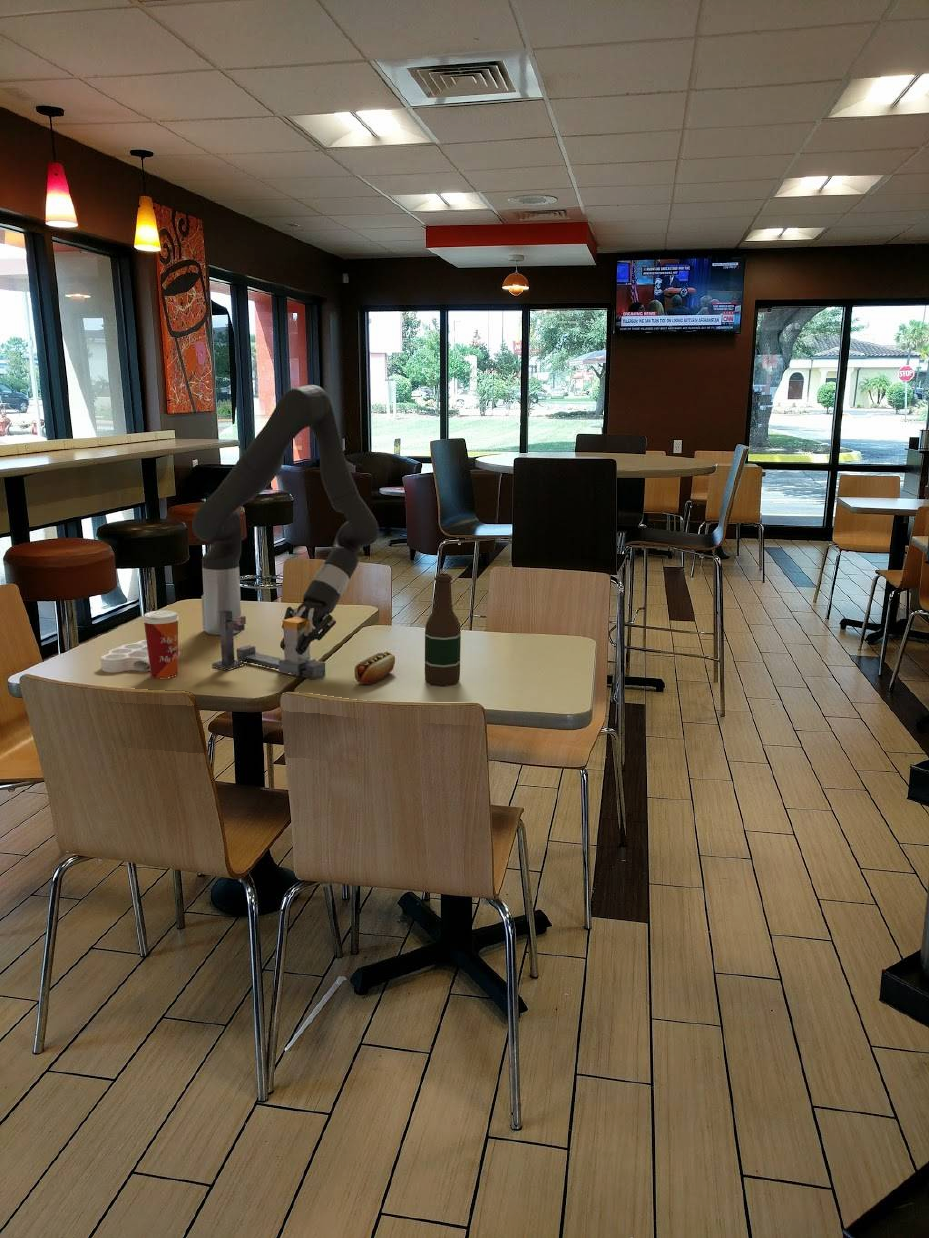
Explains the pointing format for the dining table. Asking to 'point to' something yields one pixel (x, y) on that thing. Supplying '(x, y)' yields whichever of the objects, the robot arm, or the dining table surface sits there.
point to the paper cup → (162, 642)
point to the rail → (251, 656)
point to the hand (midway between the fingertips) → (291, 650)
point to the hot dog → (374, 668)
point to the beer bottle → (442, 638)
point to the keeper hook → (229, 639)
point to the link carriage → (294, 646)
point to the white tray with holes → (127, 658)
